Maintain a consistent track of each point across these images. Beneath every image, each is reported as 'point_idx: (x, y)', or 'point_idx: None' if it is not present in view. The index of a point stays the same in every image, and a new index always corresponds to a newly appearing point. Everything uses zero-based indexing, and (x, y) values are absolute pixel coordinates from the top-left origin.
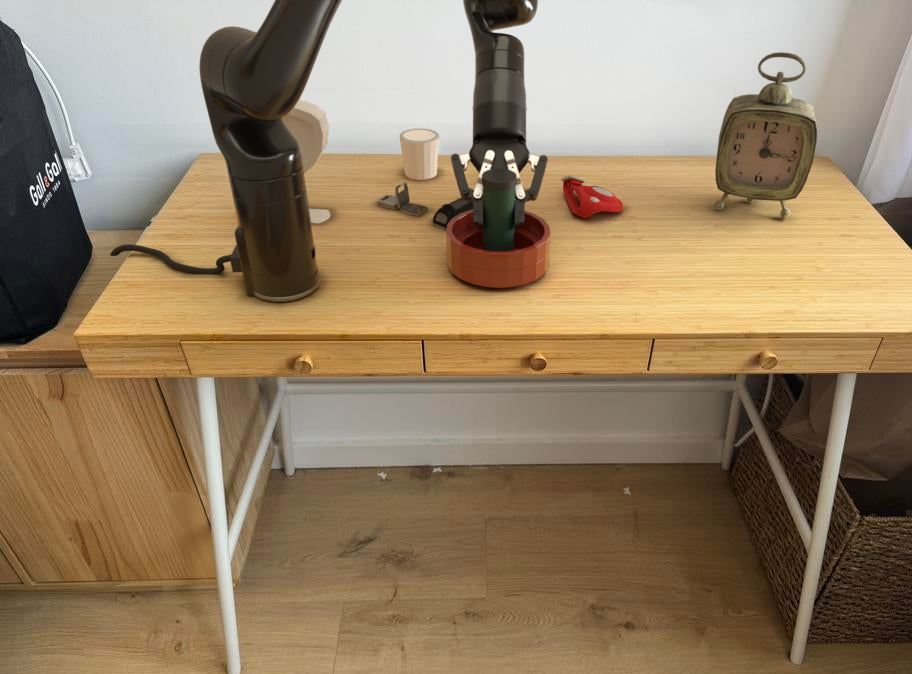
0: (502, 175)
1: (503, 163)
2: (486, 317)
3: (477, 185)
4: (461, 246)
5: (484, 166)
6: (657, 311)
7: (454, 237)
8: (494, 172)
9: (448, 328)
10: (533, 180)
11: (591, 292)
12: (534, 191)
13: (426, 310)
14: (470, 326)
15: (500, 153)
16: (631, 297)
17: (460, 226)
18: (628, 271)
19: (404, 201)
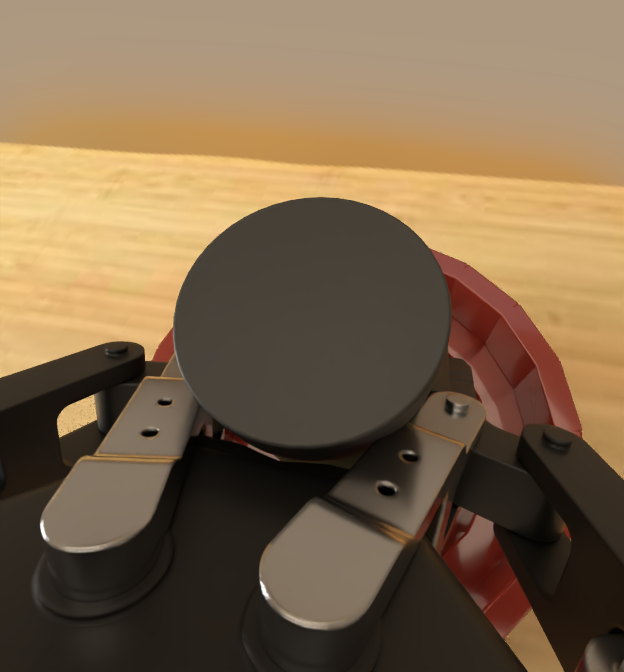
0: (283, 300)
1: (200, 518)
2: (427, 213)
3: (461, 437)
4: (514, 300)
5: (403, 500)
6: (62, 198)
7: (543, 374)
8: (333, 362)
9: (524, 184)
10: (72, 377)
11: (151, 279)
12: (117, 343)
13: (585, 256)
14: (470, 186)
15: (169, 630)
16: (78, 249)
17: (496, 576)
18: (14, 357)
19: None
